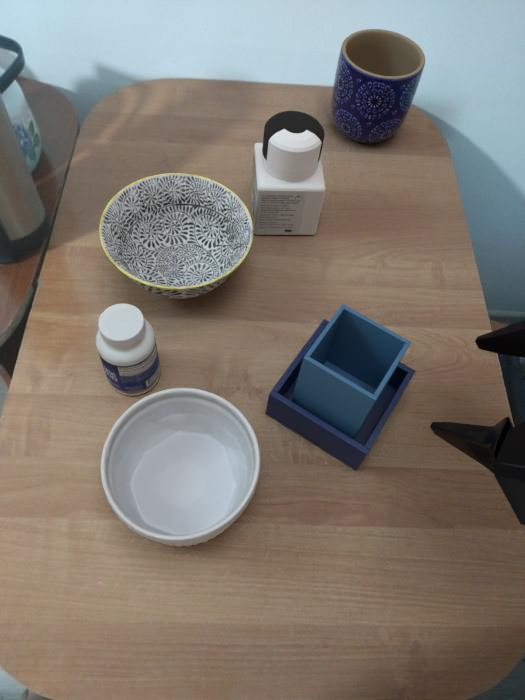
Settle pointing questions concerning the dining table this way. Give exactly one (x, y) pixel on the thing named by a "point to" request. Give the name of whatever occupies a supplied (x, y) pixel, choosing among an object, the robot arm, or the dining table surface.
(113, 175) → the dining table surface
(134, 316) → the pill bottle
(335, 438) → the navy bin
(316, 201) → the container
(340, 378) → the blue bin
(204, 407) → the ramekin
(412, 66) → the planter
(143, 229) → the bowl
